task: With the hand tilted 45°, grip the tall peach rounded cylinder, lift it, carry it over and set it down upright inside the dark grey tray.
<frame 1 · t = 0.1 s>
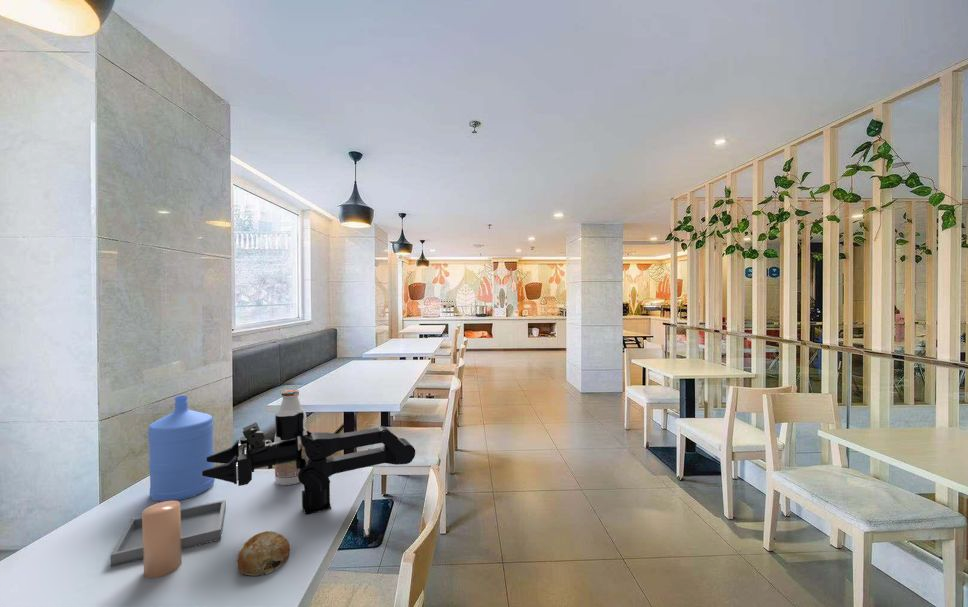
hand: (204, 466, 101), 17 cm above the table, tool horizontal, fingers open, 9 cm apart
peach rounded cylinder: (163, 567, 88), on the table
water jug: (183, 490, 123), on the table
grey tray: (175, 534, 101), on the table
bread roll: (262, 563, 90), on the table
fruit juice: (291, 479, 130), on the table
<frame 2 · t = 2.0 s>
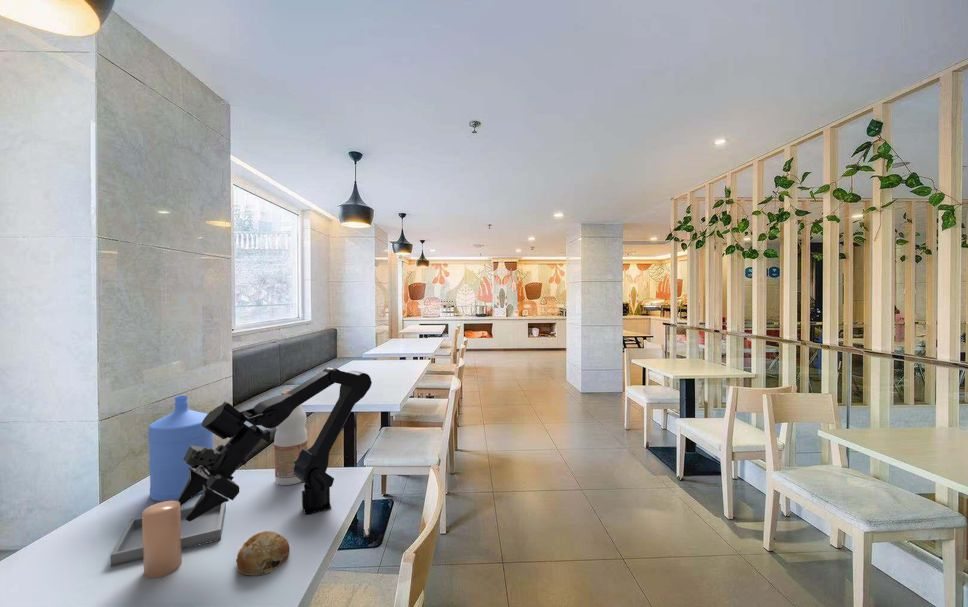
hand: (182, 512, 91), 11 cm above the table, tool tilted 45°, fingers open, 9 cm apart
nothing on the table moved.
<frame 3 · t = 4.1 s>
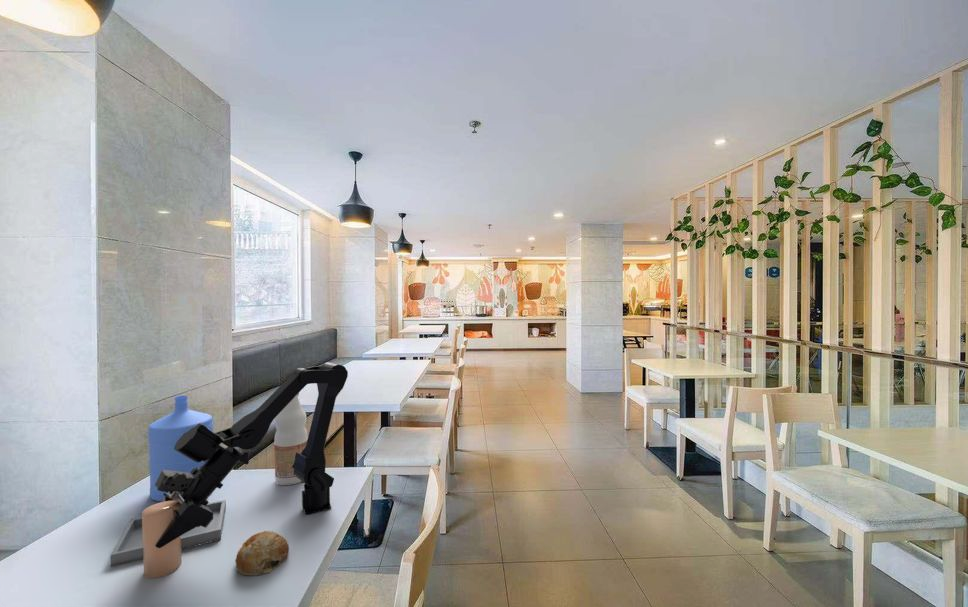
hand: (154, 540, 87), 7 cm above the table, tool tilted 45°, fingers closed on peach rounded cylinder, 6 cm apart
peach rounded cylinder: (163, 567, 88), on the table, touching gripper
everything else where it was.
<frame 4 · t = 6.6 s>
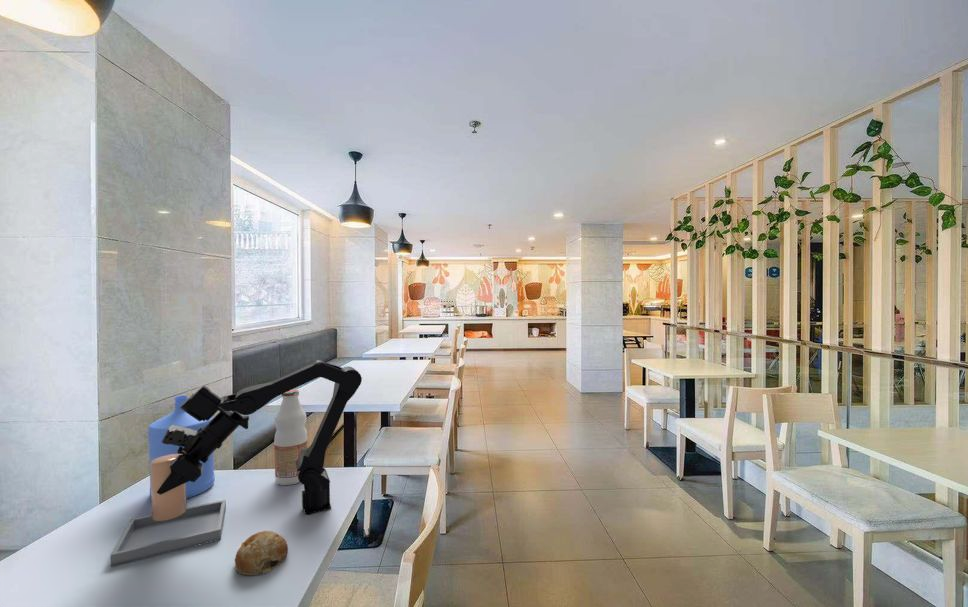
hand: (161, 487, 97), 13 cm above the table, tool tilted 45°, fingers closed on peach rounded cylinder, 6 cm apart
peach rounded cylinder: (169, 513, 97), point 7 cm above the table, touching gripper
everything else where it was.
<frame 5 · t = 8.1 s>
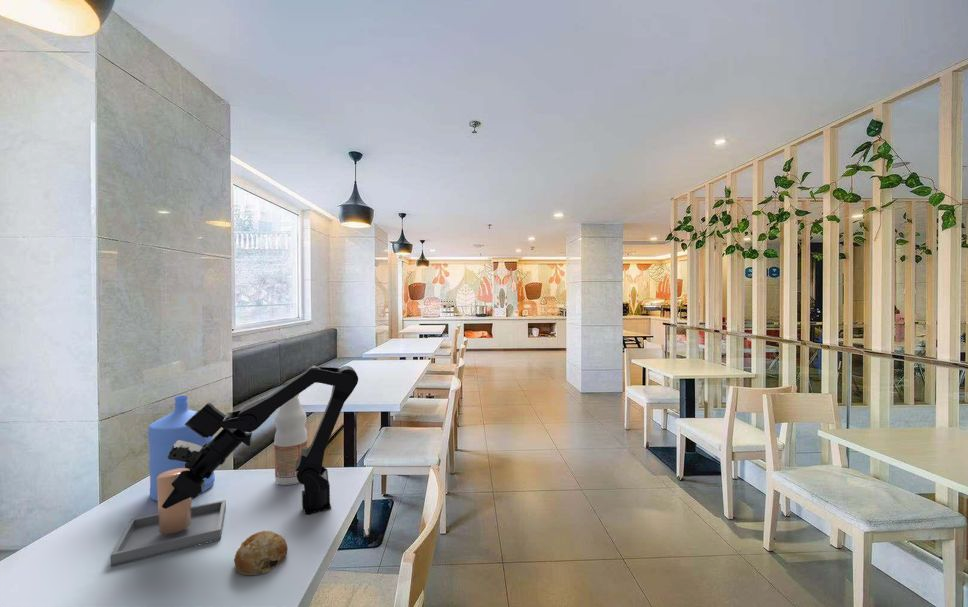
hand: (167, 500, 100), 9 cm above the table, tool tilted 45°, fingers closed on peach rounded cylinder, 6 cm apart
peach rounded cylinder: (175, 526, 101), point 2 cm above the table, touching gripper
everything else where it was.
when the fingers open (8 cm above the table, at t = 9.2 s): peach rounded cylinder stays where it is, resting on grey tray.
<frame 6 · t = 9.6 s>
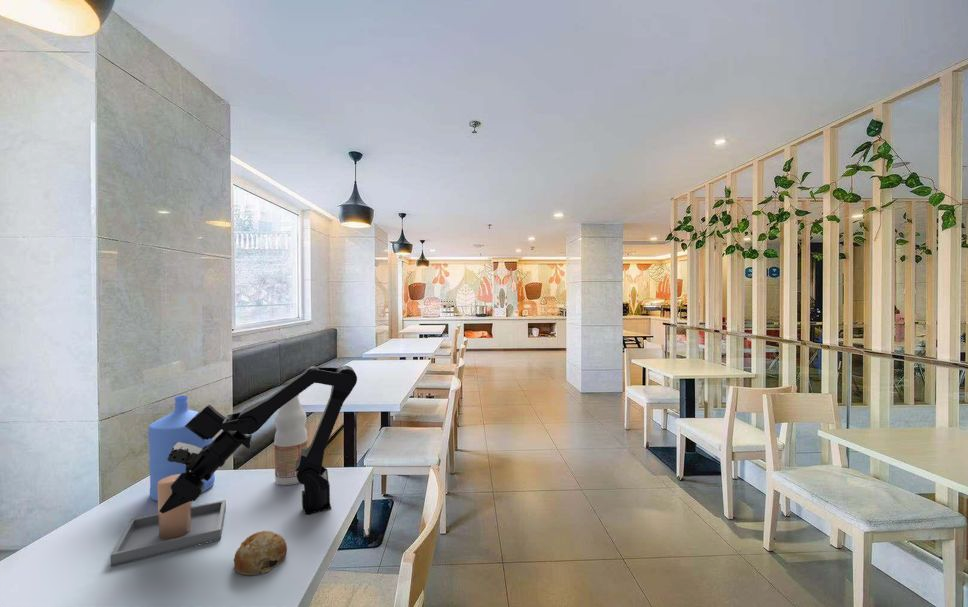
hand: (167, 502, 100), 8 cm above the table, tool tilted 45°, fingers open, 9 cm apart
peach rounded cylinder: (175, 532, 101), resting on grey tray
everything else where it was.
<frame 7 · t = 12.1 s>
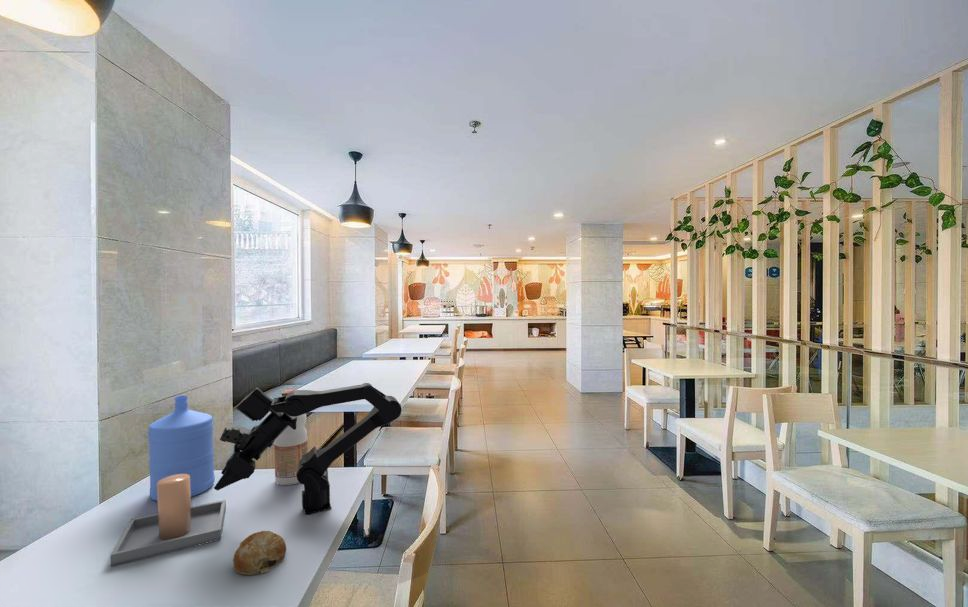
hand: (219, 481, 104), 11 cm above the table, tool tilted 45°, fingers open, 9 cm apart
nothing on the table moved.
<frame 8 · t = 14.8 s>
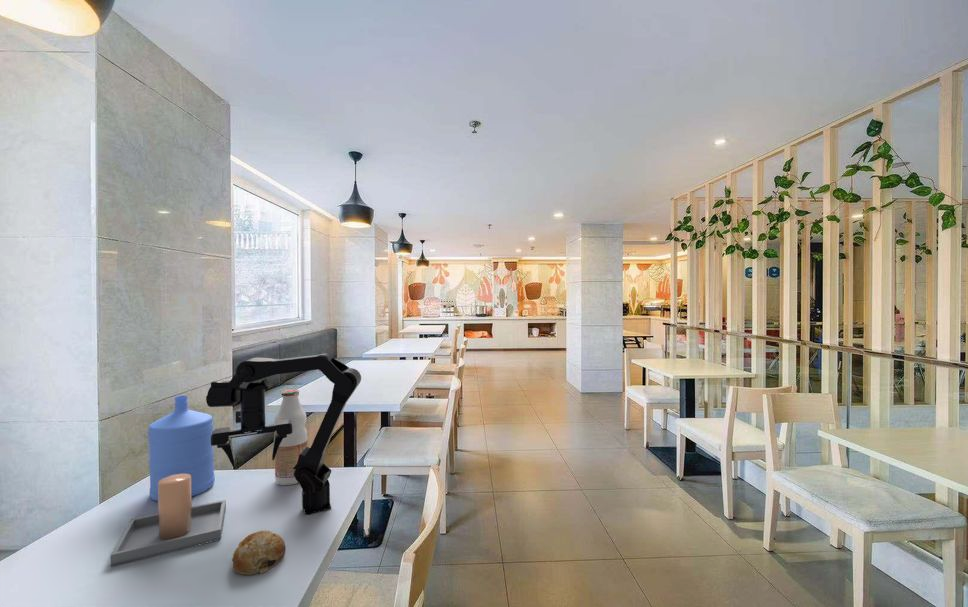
hand: (253, 463, 111), 13 cm above the table, tool pointing down, fingers open, 9 cm apart
at the end: peach rounded cylinder inside the target area on the grey tray (0.1 cm from its centre), point 0.6 cm above the grey tray's base; peach rounded cylinder tilted 1°; the gripper is holding nothing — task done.
